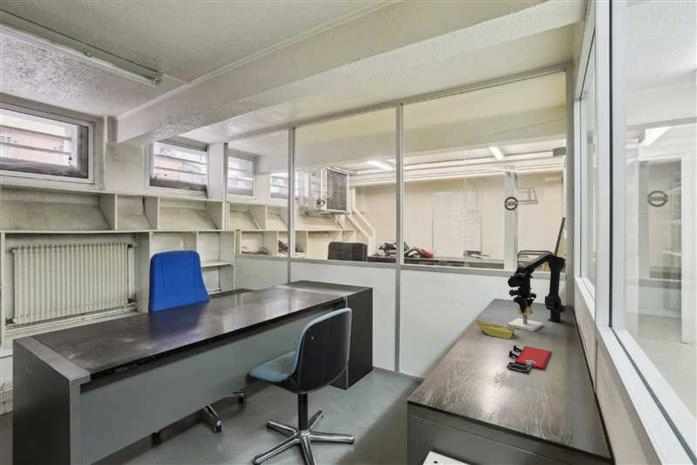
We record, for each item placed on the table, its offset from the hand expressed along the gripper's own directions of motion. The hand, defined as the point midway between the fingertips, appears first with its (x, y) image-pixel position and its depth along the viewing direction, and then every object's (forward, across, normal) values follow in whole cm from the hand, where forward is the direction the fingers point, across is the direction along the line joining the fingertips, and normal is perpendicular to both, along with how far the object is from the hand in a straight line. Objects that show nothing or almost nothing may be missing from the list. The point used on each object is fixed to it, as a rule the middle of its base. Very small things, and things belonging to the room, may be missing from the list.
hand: (525, 311), depth 199 cm
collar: (+1, 0, 0) cm, 1 cm away
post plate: (+8, 0, 0) cm, 8 cm away
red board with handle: (+9, +48, +20) cm, 52 cm away
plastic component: (+9, +24, -7) cm, 27 cm away
